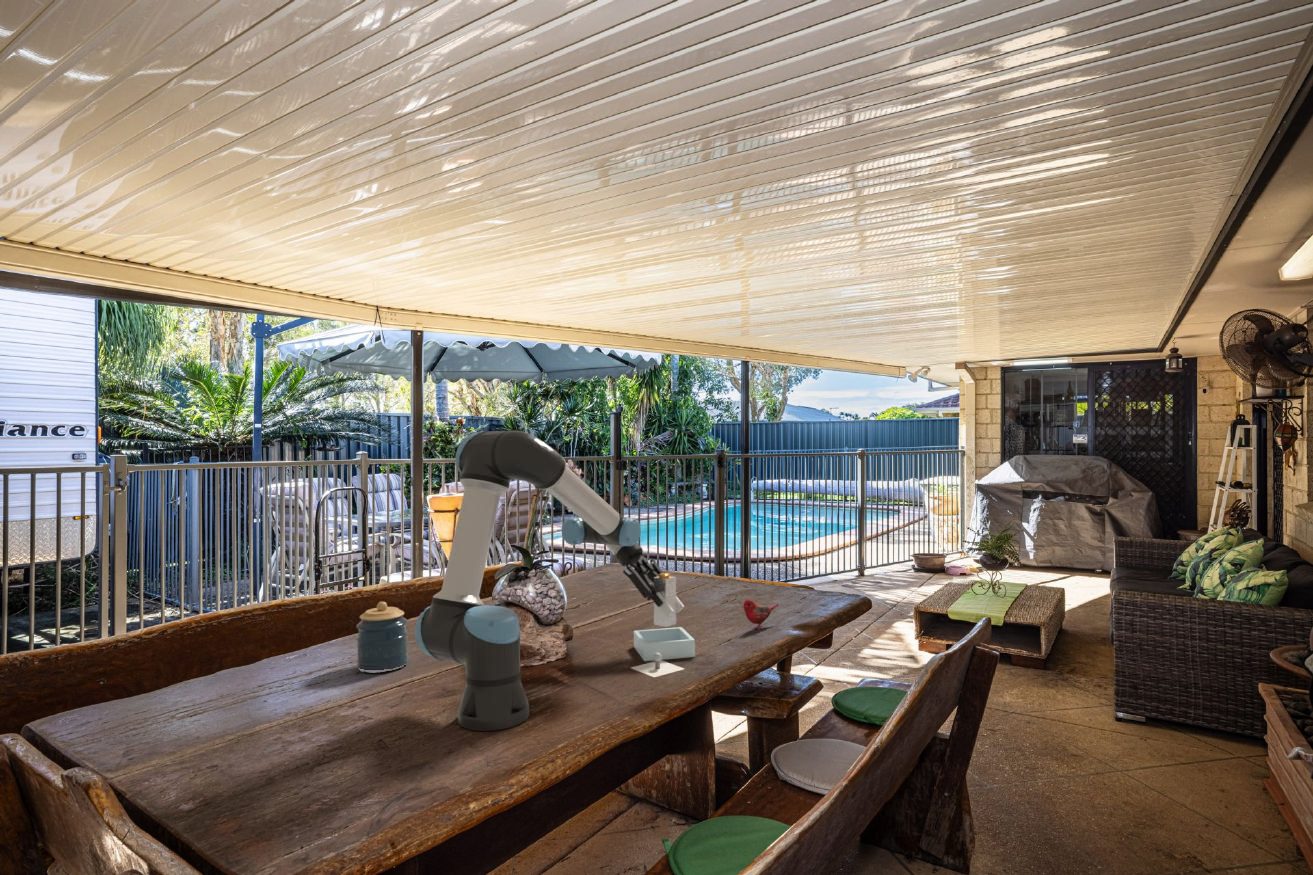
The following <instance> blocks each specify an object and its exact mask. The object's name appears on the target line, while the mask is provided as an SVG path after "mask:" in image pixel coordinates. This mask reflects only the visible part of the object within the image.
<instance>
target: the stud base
mask: <svg viewBox="0 0 1313 875" xmlns="http://www.w3.org/2000/svg"><path fill="white" fill-rule="evenodd" d="M661 658H662V656H661V654H660V653H655V654H654V655H653V659H654V660H653V661H652V662H647V663H645V664H644V663H643V664H639V665H636V666H632V667H630V669H632V670H634V671H636V672H640V673H642V674H644V675H647V676H648V677H649V676H650V677H652V678H658V677H661V676H664V675H669V674H672V673H675V672H680V671H683V670H685V668H684V667H682V666H678V665H676V664H673V663H669V662H668V661H665V660H661Z"/></svg>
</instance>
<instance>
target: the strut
mask: <svg viewBox="0 0 1313 875" xmlns="http://www.w3.org/2000/svg"><path fill="white" fill-rule="evenodd" d="M653 587H654V588H655V590H656V592H657V593H658V592H659V593H660V594H661V595H662V596H663V598H664V599H665V600H666V601H667V603H668V604H669V605H670V606H671V608H672V609H673V610H674V611H673V612H672V613H671V614H670V616H669V617H666V616H665V615H664V614H663V612H662V611H661V610H660V608H659V607H658V606H657V605H656V604H655V602H654V601H653V625H656V626H660V627H664V628H669V627H670V626H675V625H676V624H677V612H676V596H677V576H672V574H671V573H669V572H668V573H667V572H663V573H661V574H659V576H657V577H654V583H653ZM657 593H656V594H657Z"/></svg>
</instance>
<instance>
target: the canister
mask: <svg viewBox="0 0 1313 875" xmlns="http://www.w3.org/2000/svg"><path fill="white" fill-rule="evenodd" d="M404 615H405V611H404V610H401V609H400V608H399V607H395V606H388V604H387V602H385V601H379V602H378V603H377V605H376V607H375V608H370V609H367V610H366V611H364V613H362V614H361V615H359V619H360V621H359V622H358V623H357V624H356V626H355V627H356V629H357V630H358V635H357V637H356V641H357V644H356V645H357V646H356V647H357V660H356V662H357V664H356V666H357V668H358V667H359V668H360V669H364V670H384V669H393V668H396V667H400V666H402V665H404V664H406V662H407V663H408V660H409V653H408V635H409V634H408V631H407V629H406V628H407V626H406V625H407V624H408V622H409V621H408V619H407V618H405V617H404Z"/></svg>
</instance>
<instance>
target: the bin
mask: <svg viewBox="0 0 1313 875" xmlns="http://www.w3.org/2000/svg"><path fill="white" fill-rule="evenodd" d="M633 647H634V649H635V651H636V652H637V653H638V655H639V656H640V657H641V659H642V661H644V662H650V661H652V662H654V661H655V660H654V659H653V655H654V654H655V653H660V654H661V656H662V658H661V660H662V661H665V660H673V659H674V660H675V659H686V658H695V657H696V640H695V638H694V637H693V636H691V635H690V633H689V632H688V631H686V630H685V629H684V628H683V627H682V626H680V627H679V626H677V627H664V628H651V629H639V630H633Z"/></svg>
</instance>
